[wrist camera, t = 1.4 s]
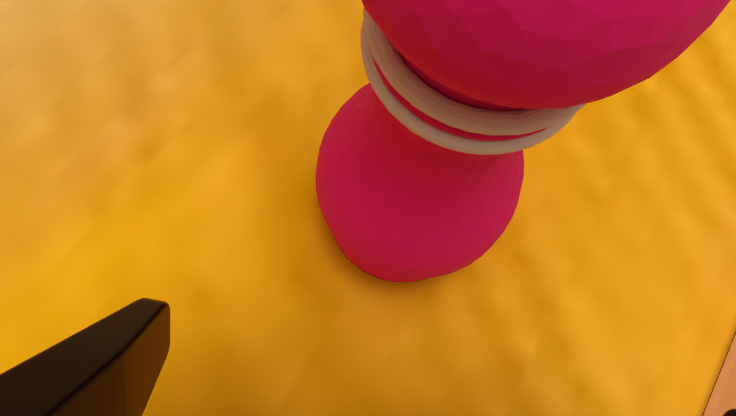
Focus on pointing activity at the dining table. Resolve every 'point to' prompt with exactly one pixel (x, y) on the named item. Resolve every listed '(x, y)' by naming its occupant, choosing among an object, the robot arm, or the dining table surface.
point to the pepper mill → (473, 115)
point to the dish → (724, 386)
